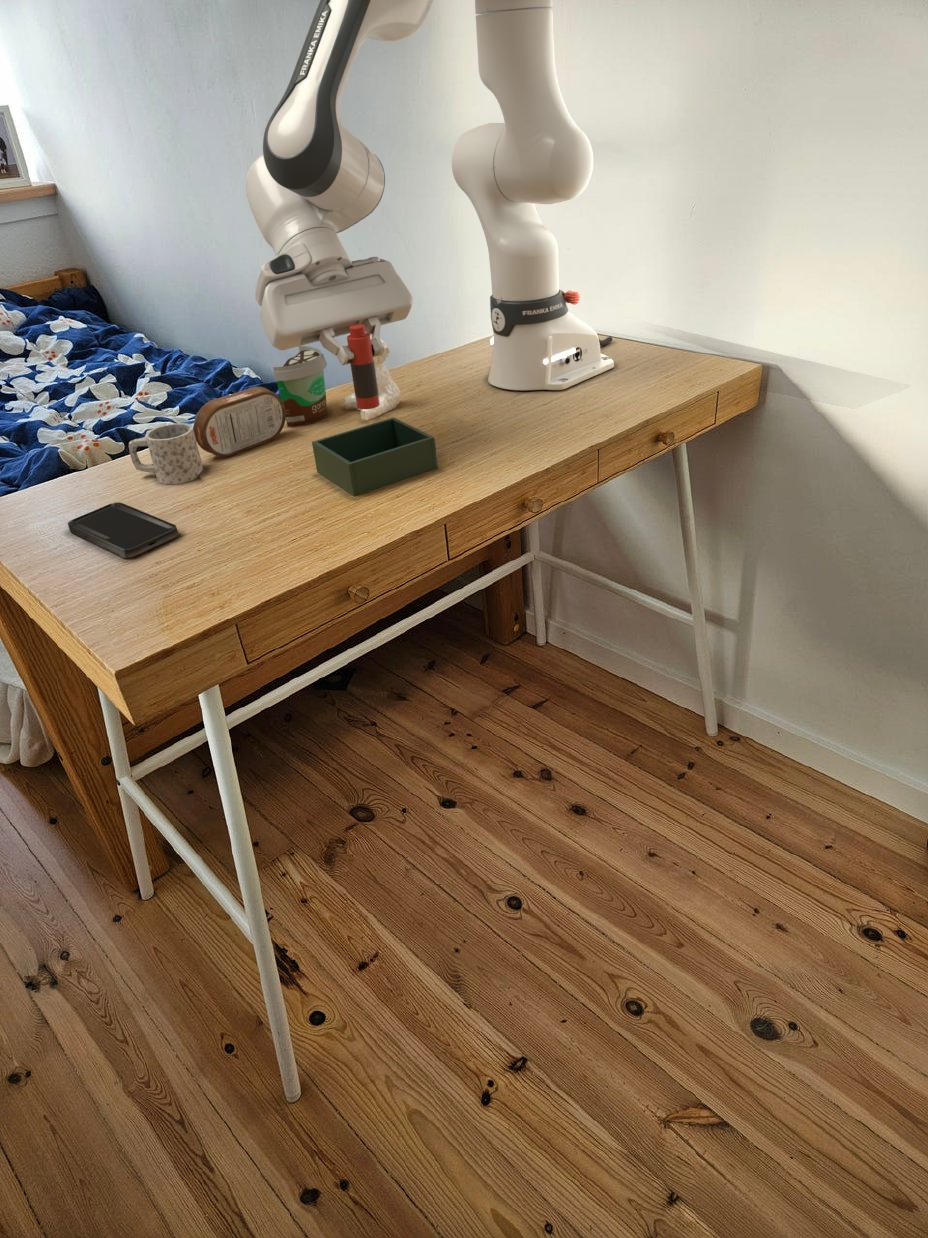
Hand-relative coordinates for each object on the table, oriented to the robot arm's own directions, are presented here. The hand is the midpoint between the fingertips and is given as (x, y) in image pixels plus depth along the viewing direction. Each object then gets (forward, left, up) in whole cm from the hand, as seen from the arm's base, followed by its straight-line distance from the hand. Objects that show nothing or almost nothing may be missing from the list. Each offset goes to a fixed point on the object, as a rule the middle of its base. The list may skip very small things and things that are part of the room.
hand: (363, 357), depth 116 cm
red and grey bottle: (0, -1, -7) cm, 7 cm away
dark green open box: (0, -1, -16) cm, 16 cm away
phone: (+34, -7, -16) cm, 38 cm away
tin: (+10, -24, -17) cm, 31 cm away
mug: (+23, -22, -16) cm, 36 cm away
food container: (-4, -29, -16) cm, 34 cm away
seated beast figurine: (-13, -24, -17) cm, 32 cm away
